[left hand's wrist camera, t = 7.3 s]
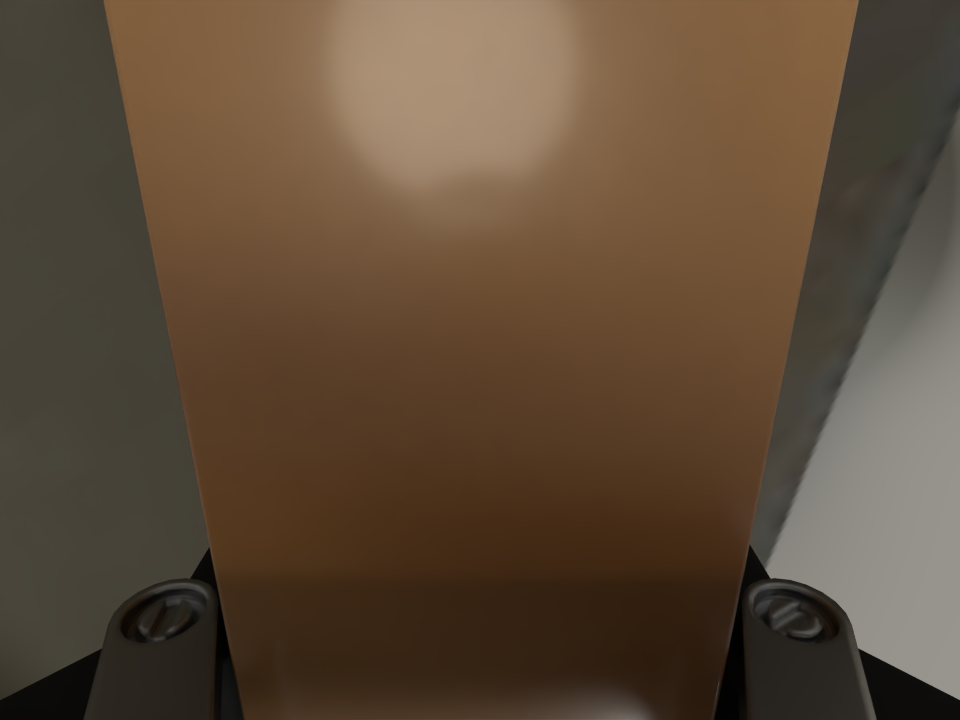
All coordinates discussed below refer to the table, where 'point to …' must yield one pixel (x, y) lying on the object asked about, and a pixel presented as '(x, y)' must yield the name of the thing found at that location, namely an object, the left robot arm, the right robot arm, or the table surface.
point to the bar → (480, 332)
